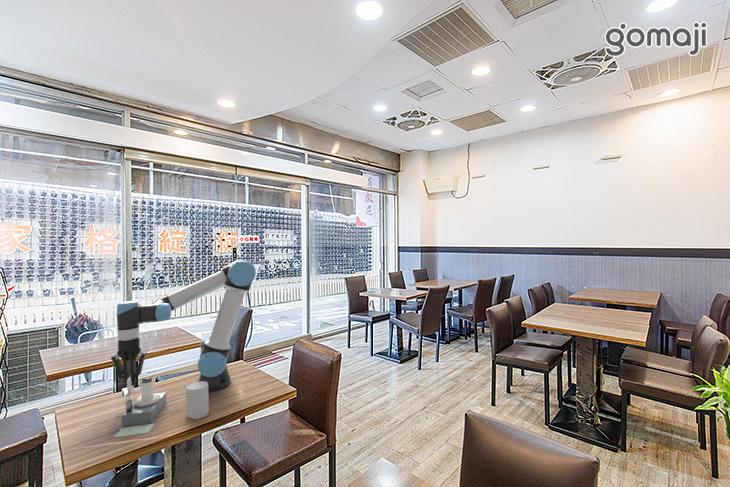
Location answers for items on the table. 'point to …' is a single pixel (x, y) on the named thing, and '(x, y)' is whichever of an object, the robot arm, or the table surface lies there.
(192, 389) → the cup
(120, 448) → the table surface
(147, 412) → the socket block
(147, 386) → the plug
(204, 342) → the robot arm
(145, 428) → the mat
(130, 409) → the record player tonearm
